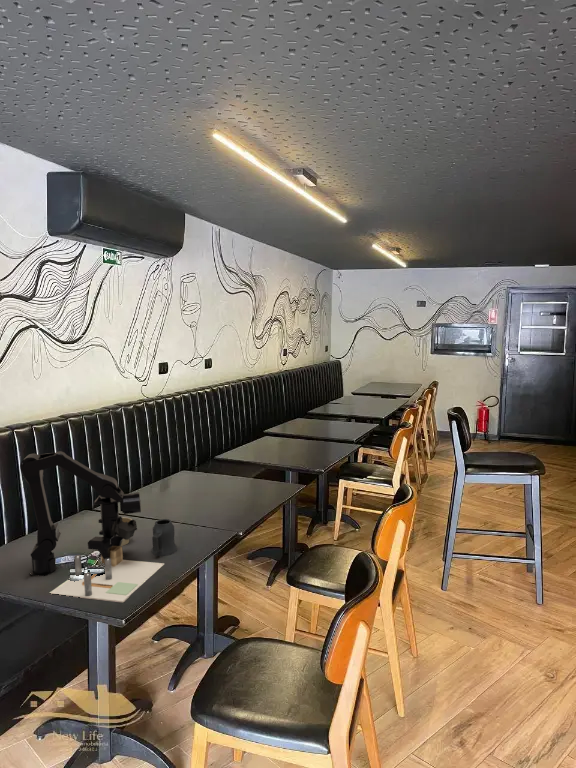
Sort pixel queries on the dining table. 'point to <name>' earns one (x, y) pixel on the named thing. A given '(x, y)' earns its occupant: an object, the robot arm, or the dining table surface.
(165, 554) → the dark grey holder
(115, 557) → the oak open box
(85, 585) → the wire and posts
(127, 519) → the flower pot
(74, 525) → the dining table surface
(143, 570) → the course mat
